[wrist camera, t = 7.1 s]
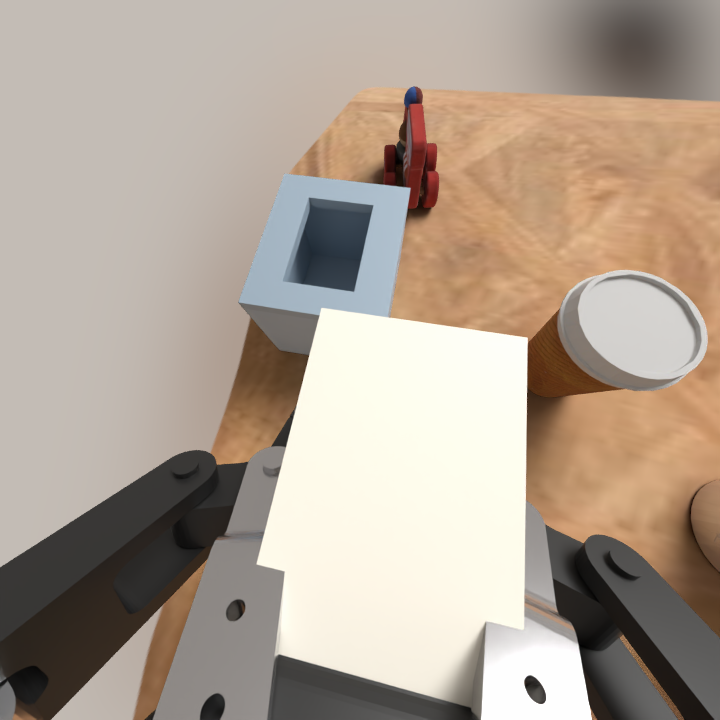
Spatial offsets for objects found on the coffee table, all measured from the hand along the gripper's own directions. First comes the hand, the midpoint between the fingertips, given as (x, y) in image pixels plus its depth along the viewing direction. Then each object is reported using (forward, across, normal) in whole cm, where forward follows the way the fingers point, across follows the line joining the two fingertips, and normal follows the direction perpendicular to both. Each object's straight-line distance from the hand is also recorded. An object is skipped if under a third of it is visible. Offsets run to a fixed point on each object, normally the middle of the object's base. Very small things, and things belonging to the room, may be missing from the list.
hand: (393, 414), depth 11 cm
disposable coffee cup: (+22, -16, +7) cm, 29 cm away
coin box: (+25, +7, +4) cm, 26 cm away
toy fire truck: (+39, +2, -10) cm, 40 cm away
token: (+2, 0, +4) cm, 5 cm away
